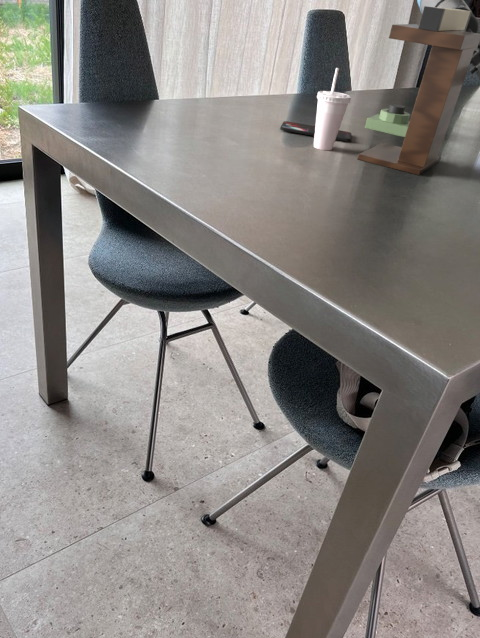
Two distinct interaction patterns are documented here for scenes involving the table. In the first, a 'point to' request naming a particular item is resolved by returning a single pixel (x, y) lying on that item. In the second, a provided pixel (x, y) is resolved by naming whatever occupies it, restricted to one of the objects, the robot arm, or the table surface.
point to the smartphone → (311, 130)
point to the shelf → (428, 98)
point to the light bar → (444, 19)
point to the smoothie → (329, 116)
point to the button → (396, 109)
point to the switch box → (389, 122)
